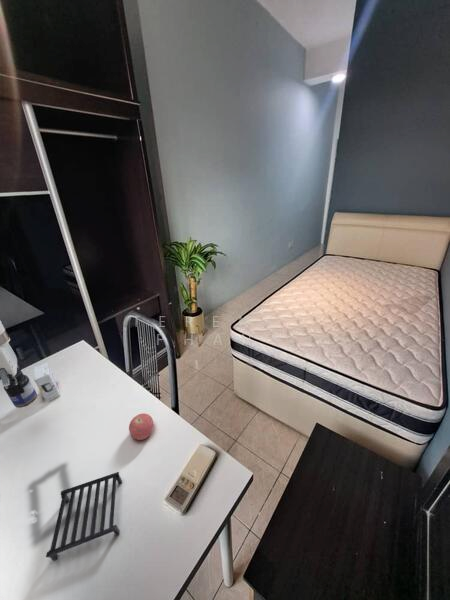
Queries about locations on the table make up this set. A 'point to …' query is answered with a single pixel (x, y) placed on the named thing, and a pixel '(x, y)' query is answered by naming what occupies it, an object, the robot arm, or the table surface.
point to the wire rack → (85, 514)
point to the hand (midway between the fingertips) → (18, 386)
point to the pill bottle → (29, 392)
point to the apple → (141, 426)
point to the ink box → (46, 382)
